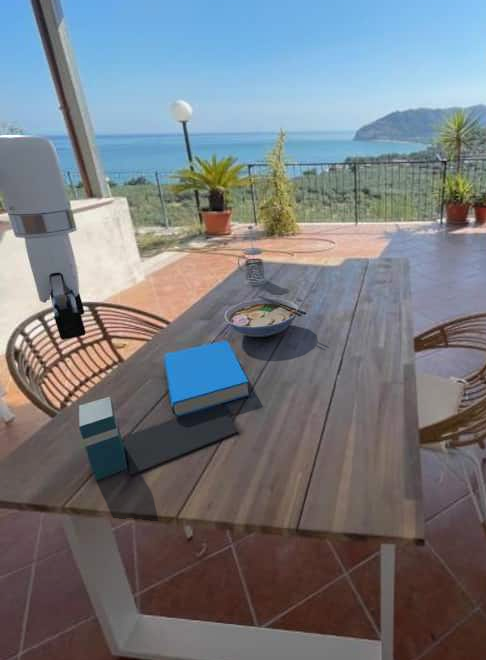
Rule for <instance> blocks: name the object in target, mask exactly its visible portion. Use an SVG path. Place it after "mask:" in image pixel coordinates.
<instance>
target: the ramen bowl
mask: <svg viewBox="0 0 486 660" xmlns="http://www.w3.org/2000/svg"><path fill="white" fill-rule="evenodd" d="M257 297H258V298H255V299H250V300H246V301H242V302H240V303H238V304H235V305H233V306H231V307H230V308H229V309H228V310H226V311H225V312H224V319H225V321H226V322H227V323H228V325H229V326H230V327H231V328H232V329H233V330H234V331H236V332H237V333H238V334H242V335H245V336H247V337H254V338H267V337H269V336H273V335H276V334H279V333H280V332H282V331H284V330H286V329H287V328H288V327H289V326H290V324H291V323H292V322H293V321H294V319H296V316H298V317H302V315H304V316H305V315H307V312H306V311H304V310H301V309H298V305H297V304H295V303H293V302H292V301H291V300H286V299H283V298H274V297H264V296H262V295H259V294H258V295H257Z"/></svg>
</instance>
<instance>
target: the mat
mask: <svg viewBox="0 0 486 660" xmlns="http://www.w3.org/2000/svg"><path fill="white" fill-rule="evenodd" d="M237 434H239V430H238V428H237V426H236V425H235V423H234V422H233V420H232V418H231V416H230V414H229V412H228V411H227V409H226V407H225V405H224V403H222V404H219V405H215V406H212V407H209V408H205V409H202V410H199V411H195V412H192V413H189V414H185V415H182V416H179V417H176V418H174V419H171V420H167V421H165V422H162V423H160V424H157V425H154V426H150V427H147V428H145V429H143V430H139V431H137V432H134V433H131V434H128V435H125V436H124V437H123V439H124V447H125V453H126V459H127V465H128V471H129V475H130V477H132V476H135V475H138V474H141V473H142V472H144V471H145V472H146V471H148V470H150V469H153V468H155V467H157V466H160V465H163V464H165V463H167V462H170V461H173V460H175V459H177V458H180V457H183V456H185V455H186V454H190V453H192V452H195V451H197V450H199V449H203V448H204V447H207V446H209V445H212V444H214V443H217V442H220V441H221V440H224V439H227V438H229V437H232V436H234V435H237Z"/></svg>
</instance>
